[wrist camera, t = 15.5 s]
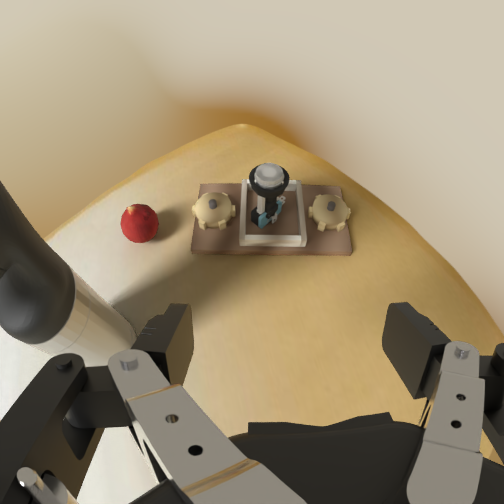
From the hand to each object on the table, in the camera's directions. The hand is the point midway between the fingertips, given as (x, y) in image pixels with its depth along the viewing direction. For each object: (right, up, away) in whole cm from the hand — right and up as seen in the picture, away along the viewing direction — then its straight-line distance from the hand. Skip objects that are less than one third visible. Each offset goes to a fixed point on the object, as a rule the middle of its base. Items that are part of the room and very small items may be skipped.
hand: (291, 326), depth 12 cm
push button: (+1, +9, +37) cm, 38 cm away
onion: (-19, +5, +36) cm, 41 cm away
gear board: (+2, +8, +38) cm, 39 cm away
